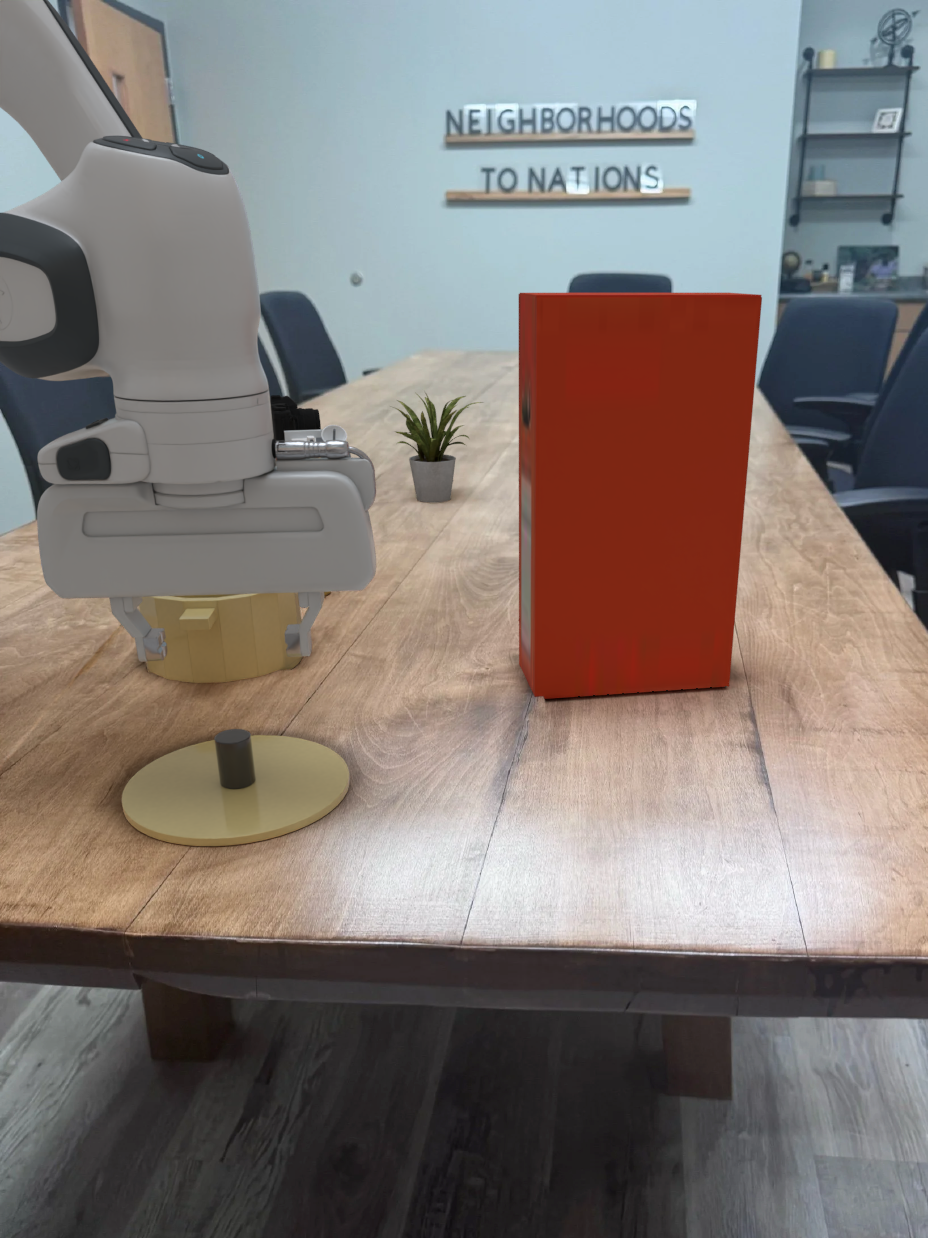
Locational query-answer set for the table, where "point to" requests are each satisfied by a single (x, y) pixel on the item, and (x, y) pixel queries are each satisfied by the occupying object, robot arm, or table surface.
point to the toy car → (318, 435)
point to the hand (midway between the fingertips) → (227, 656)
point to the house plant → (432, 451)
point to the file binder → (632, 487)
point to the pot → (222, 635)
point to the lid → (235, 789)
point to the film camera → (291, 417)
